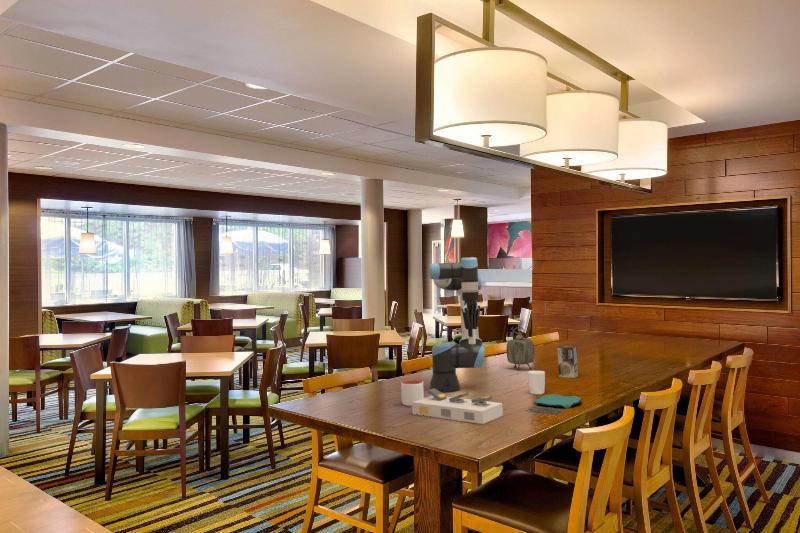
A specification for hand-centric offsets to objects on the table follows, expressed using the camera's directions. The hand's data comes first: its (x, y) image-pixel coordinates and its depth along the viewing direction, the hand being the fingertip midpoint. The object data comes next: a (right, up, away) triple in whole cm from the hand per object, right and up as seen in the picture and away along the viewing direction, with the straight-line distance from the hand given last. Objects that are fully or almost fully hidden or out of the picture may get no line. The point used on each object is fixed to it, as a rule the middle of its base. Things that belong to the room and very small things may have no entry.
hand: (472, 343), depth 275 cm
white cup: (+33, -26, +14) cm, 44 cm away
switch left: (-17, -20, -14) cm, 30 cm away
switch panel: (-9, -27, -23) cm, 36 cm away
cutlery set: (+34, -26, -12) cm, 44 cm away
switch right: (+1, -19, -28) cm, 34 cm away
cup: (-27, -28, 0) cm, 38 cm away
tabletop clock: (+38, -26, +81) cm, 93 cm away
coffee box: (+58, -25, +54) cm, 83 cm away
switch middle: (-8, -20, -21) cm, 30 cm away
